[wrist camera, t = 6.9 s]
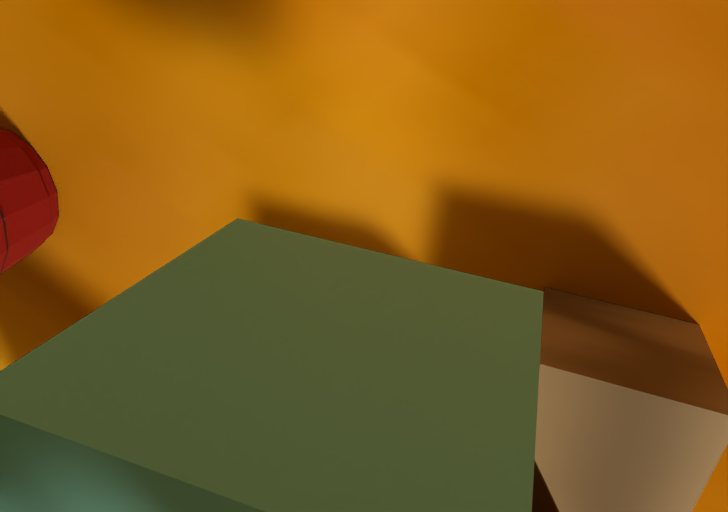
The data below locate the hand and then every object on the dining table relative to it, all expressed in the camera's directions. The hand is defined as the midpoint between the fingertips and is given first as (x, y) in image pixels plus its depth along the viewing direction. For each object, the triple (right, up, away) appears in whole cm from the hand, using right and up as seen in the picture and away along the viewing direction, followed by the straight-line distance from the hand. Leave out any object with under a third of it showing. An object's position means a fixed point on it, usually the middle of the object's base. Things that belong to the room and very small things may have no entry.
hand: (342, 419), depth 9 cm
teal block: (0, 0, +1) cm, 1 cm away
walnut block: (+9, -1, +11) cm, 14 cm away
